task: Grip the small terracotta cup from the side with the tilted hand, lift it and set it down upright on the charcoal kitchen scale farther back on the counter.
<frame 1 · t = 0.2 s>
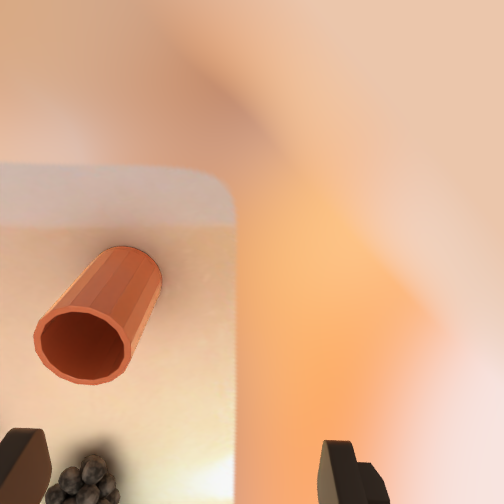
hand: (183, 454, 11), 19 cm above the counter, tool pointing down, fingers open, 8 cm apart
fruit: (95, 487, 39), on the counter
terracotta cup: (126, 278, 30), on the counter
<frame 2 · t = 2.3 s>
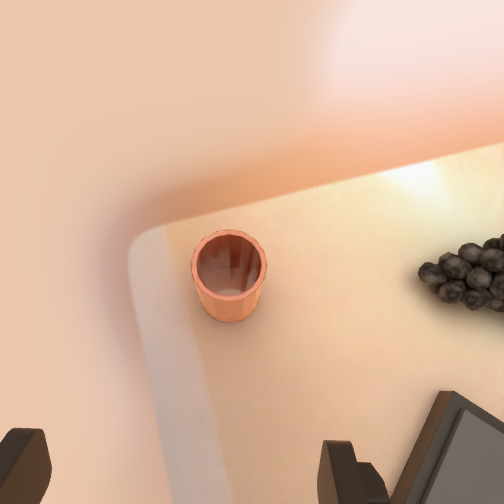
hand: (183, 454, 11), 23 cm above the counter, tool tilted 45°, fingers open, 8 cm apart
fruit: (481, 282, 38), on the counter
terracotta cup: (229, 292, 36), on the counter
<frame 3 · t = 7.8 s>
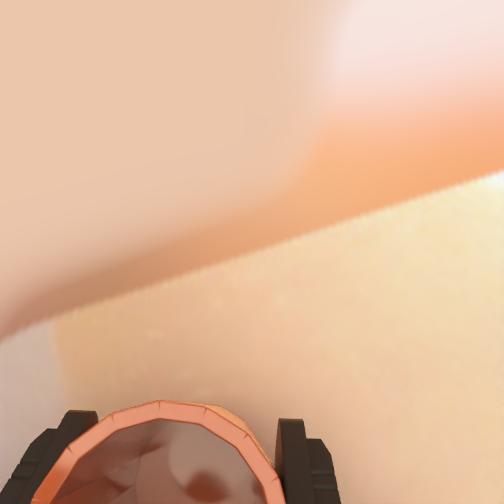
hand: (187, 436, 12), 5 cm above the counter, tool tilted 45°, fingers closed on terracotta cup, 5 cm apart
terracotta cup: (198, 477, 16), on the counter, touching gripper
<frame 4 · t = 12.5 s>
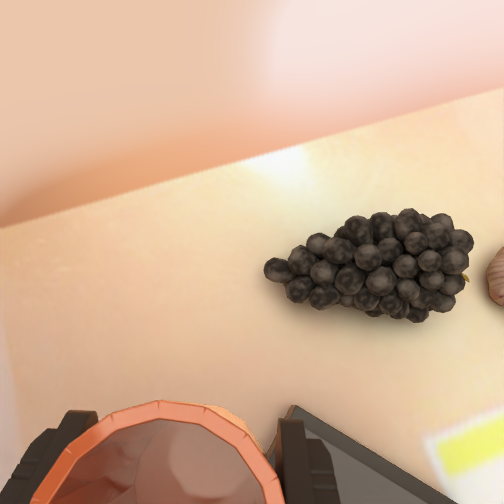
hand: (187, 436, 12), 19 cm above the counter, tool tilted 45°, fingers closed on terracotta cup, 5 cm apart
fruit: (349, 276, 34), on the counter
terracotta cup: (197, 477, 16), point 14 cm above the counter, touching gripper
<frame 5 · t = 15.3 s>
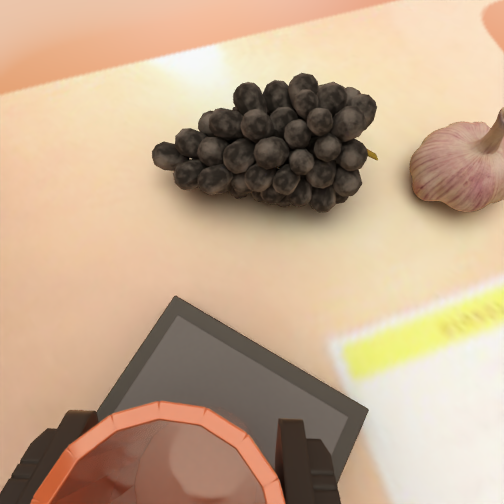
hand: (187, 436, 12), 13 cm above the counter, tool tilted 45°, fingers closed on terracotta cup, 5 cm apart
fruit: (258, 175, 30), on the counter
garlic bulb: (449, 182, 30), on the counter
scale: (211, 452, 23), on the counter
terracotta cup: (198, 477, 16), point 8 cm above the counter, touching gripper
when the fingers open (8 cm above the counter, at t = 17.2 s): terracotta cup stays where it is, resting on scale.
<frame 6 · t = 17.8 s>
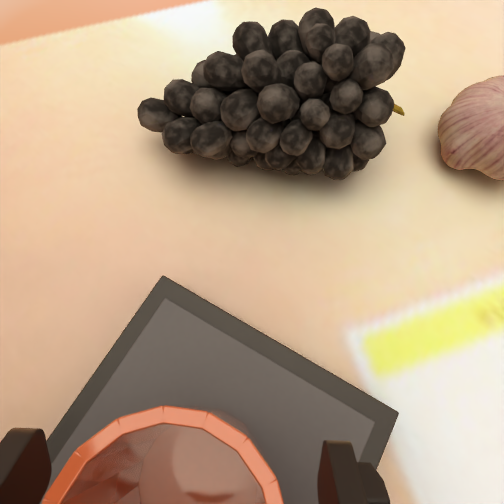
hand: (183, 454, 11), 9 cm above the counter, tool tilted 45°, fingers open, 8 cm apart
fruit: (262, 141, 26), on the counter
garlic bulb: (481, 150, 26), on the counter
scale: (205, 465, 19), on the counter
terracotta cup: (200, 477, 16), point 3 cm above the counter, touching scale
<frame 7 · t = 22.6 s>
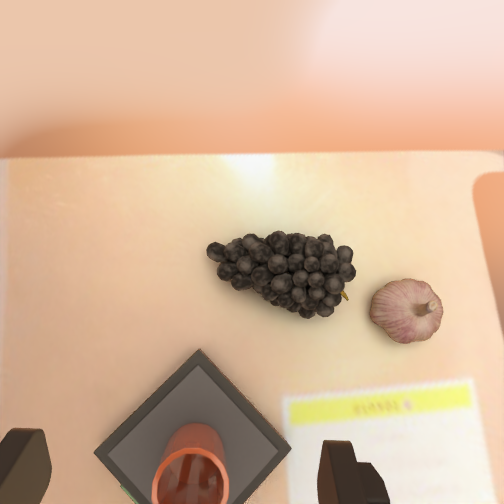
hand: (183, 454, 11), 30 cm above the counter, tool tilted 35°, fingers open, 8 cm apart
fruit: (273, 270, 44), on the counter
garlic bulb: (397, 310, 44), on the counter
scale: (195, 443, 39), on the counter
terracotta cup: (194, 453, 36), point 3 cm above the counter, touching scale
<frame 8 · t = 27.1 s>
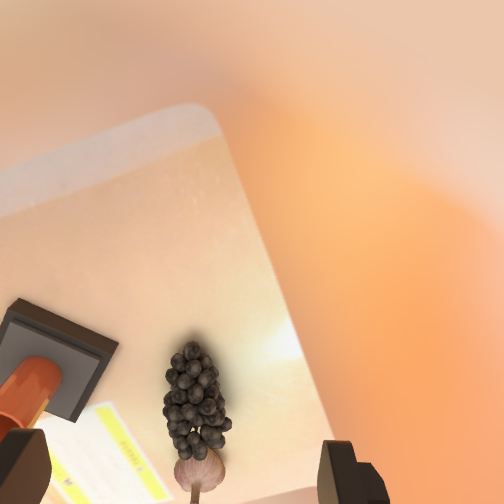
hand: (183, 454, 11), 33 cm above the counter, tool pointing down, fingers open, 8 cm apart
fruit: (201, 376, 52), on the counter
garlic bulb: (202, 454, 58), on the counter
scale: (52, 357, 51), on the counter
terracotta cup: (40, 374, 48), point 3 cm above the counter, touching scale
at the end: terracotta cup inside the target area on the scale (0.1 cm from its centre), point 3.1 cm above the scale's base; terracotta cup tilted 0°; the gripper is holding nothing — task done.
